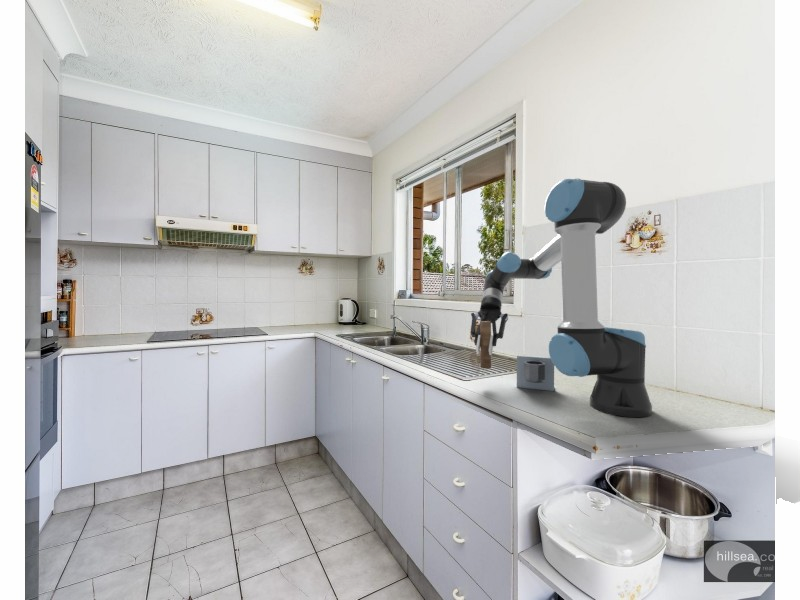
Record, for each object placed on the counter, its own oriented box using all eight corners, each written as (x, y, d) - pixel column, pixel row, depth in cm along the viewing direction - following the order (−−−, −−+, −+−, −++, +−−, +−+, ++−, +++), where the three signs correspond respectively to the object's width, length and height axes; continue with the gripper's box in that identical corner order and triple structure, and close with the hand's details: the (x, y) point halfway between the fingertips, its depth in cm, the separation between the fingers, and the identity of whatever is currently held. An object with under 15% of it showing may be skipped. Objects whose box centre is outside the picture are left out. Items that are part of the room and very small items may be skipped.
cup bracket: (525, 376, 123) (525, 359, 123) (545, 377, 120) (545, 360, 120) (523, 381, 115) (523, 363, 115) (544, 383, 113) (544, 365, 112)
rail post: (493, 367, 123) (493, 321, 122) (484, 368, 121) (484, 322, 121) (487, 366, 126) (486, 321, 126) (478, 366, 125) (478, 321, 124)
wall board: (518, 383, 129) (518, 353, 128) (554, 387, 124) (554, 355, 124) (516, 387, 124) (516, 355, 124) (553, 390, 119) (554, 358, 119)
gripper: (515, 309, 134) (510, 360, 119) (471, 309, 141) (461, 357, 126) (513, 295, 129) (508, 347, 114) (468, 295, 136) (457, 344, 121)
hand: (483, 352), depth 120 cm, fingers closed on rail post, 3 cm apart
